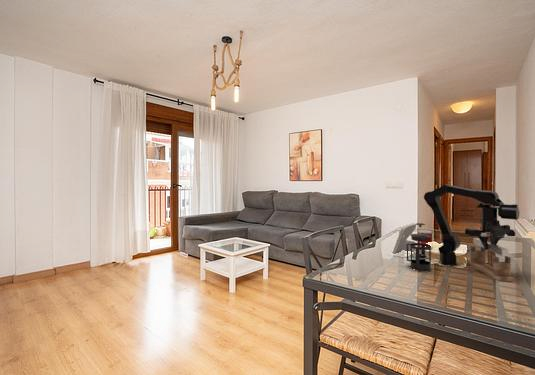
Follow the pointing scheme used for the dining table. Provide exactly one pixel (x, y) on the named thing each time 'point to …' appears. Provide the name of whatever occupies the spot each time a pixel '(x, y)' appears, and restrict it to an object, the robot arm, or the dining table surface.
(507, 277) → the hook rack
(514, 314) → the dining table surface
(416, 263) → the french press
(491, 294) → the dining table surface
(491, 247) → the steel bar
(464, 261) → the dining table surface
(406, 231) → the phone holder
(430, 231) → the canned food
